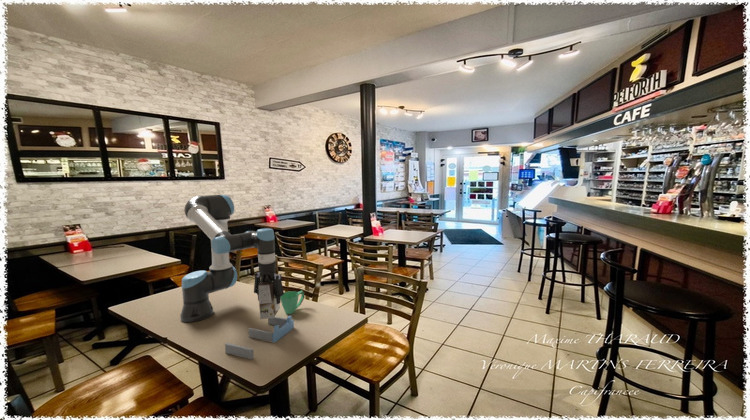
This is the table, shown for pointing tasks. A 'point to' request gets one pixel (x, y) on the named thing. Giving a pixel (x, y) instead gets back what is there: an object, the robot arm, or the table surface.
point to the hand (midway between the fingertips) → (269, 308)
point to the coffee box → (266, 300)
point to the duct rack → (262, 336)
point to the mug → (291, 301)
